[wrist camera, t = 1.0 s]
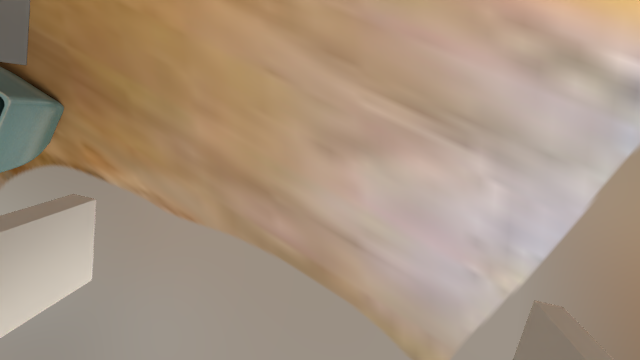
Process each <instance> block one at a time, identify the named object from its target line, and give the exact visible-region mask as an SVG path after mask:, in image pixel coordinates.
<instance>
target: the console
mask: <svg viewBox="0 0 640 360" xmlns="http://www.w3.org/2000/svg"><path fill="white" fill-rule="evenodd" d="M29 12H30V0H0V62H6V63H13V64H20V65H26V63H27V46H28V29H29Z"/></svg>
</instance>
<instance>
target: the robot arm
mask: <svg viewBox="0 0 640 360" xmlns="http://www.w3.org/2000/svg"><path fill="white" fill-rule="evenodd" d="M95 211H96V199H92V198H88V197H84V196H80V195H75V194H72V195H68V196H65V197H62V198H58V199H55V200H52V201H48V202H45V203H42V204H39V205H35V206H32V207H28V208H25V209H22V210H18V211H15V212H12V213H8V214H5V215H2V216H0V338H1V337H3V336H4V335H6V334H7V333H9V332H10V331H12V330H13V329H15V328H17V327H18V326H20V325H21V324H23V323H25V322H26V321H28V320H29V319H31V318H33V317H34V316H36V315H37V314H39V313H40V312H42V311H43V310H45V309H47V308H48V307H50V306H52V305H53V304H55V303H56V302H58V301H59V300H61V299H62V298H64V297H66V296H67V295H69V294H70V293H72V292H73V291H75V290H77V289H78V288H80V287H82V286H83V285H85V284H86V283H88V282H89V281H91V280H92V271H93V270H92V269H93V268H92V267H93V250H94V230H95ZM513 360H614V359H613V358H612V357H611V356H610V355H609V354H608V353H607V352H606V351H605V350H604V349H603V348H602V347H601V345H600V344H599V343H598V342H597V341H595V339H594V338H593V337H592V336H591V335H590V334H589V333H588V332H587V331H586V330H585V329H584V328H583V327H582V326H581V325H580V324H579V323H578V322H577V321H576V320H575V319H574V318H573V317H572V316H571V315H570V314H569V313H568V312H567V311H566V310H565V309H564V308H563V307H560V306H556V305H552V304H547V303H542V302H539V301H534V303H533V306H532V308H531V312H530V314H529V317H528V319H527V322H526V325H525V328H524V331H523V333H522V336H521V339H520V342H519V345H518V347H517V350H516V353H515V355H514V358H513Z"/></svg>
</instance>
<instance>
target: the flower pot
mask: <svg viewBox="0 0 640 360" xmlns="http://www.w3.org/2000/svg"><path fill="white" fill-rule="evenodd" d="M63 110H64V107H63V105H62V104H60V103H59V102H58V101H56V100H54V99H53V98H51V97H50V96H48V95H46V94H45V93H43V92H42V91H40V90H39V89H37V88H35V87H34V86H32V85H31V84H29V83H28V82H26V81H25V80H23V79H22V78H20V77H18V76H17V75H15V74H13V73H12V72H10V71H8V70H6V69H4V68H2V67H0V173H1V172H4V171H7V170H10V169H13V168H16V167H19V166H21V165H24V164H26V163H28V162H29V161H31V160H33V159H34V158H35V157H37V156H38V155H39V154H40V153H41V152H42V151H43V150H44V149H45V148H46V146H47V145H48V144H49V143H50V141H51V138H52V136H53V134H54V131H55V129H56V126H57V124H58V122H59V120H60V117H61V115H62V113H63Z"/></svg>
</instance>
